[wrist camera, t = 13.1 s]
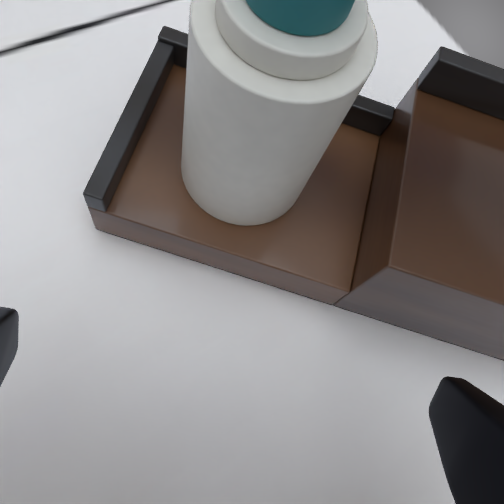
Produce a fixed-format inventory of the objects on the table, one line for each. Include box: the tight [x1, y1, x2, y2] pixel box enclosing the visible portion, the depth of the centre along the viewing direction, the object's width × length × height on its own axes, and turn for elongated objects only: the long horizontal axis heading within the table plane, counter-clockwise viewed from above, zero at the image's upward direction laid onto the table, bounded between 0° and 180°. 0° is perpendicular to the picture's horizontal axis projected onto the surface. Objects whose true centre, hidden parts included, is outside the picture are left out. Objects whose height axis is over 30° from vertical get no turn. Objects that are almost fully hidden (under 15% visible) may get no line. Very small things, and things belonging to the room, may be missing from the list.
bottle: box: [181, 0, 378, 226], centre depth 13 cm, size 5×5×9 cm
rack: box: [83, 26, 504, 360], centre depth 17 cm, size 8×19×6 cm, turn 75°
